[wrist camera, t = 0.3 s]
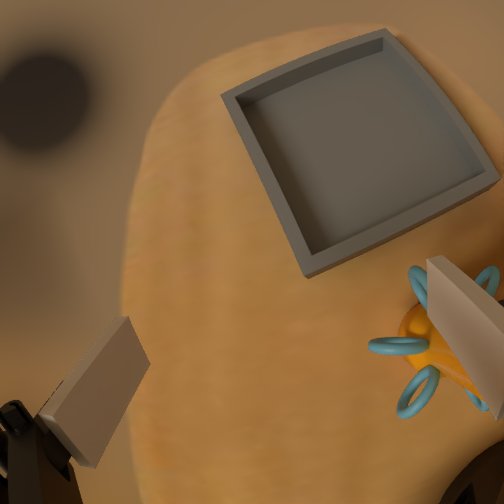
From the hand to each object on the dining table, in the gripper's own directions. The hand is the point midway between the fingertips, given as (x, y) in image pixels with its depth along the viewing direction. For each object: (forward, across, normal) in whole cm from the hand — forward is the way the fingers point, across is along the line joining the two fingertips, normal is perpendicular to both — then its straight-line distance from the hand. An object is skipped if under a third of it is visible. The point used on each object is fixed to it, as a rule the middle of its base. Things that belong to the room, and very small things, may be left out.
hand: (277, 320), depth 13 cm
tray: (+20, -9, -6) cm, 23 cm away
